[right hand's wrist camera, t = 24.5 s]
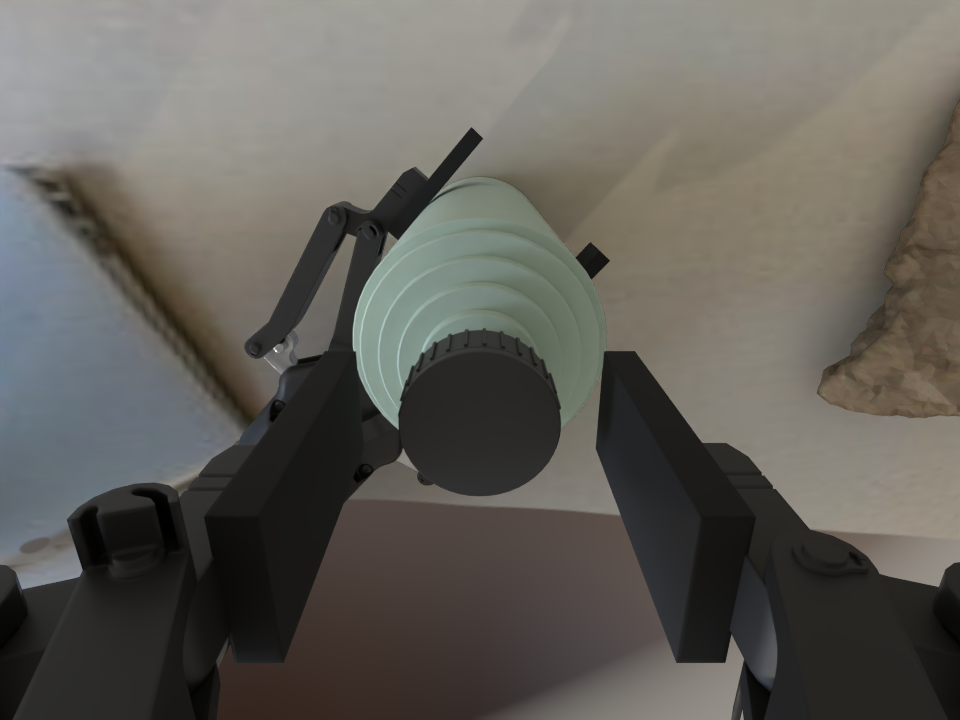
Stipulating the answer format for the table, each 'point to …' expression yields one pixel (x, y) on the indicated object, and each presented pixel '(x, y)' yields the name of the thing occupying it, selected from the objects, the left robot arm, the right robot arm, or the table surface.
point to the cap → (479, 413)
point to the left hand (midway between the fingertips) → (540, 194)
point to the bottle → (479, 293)
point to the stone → (913, 311)
